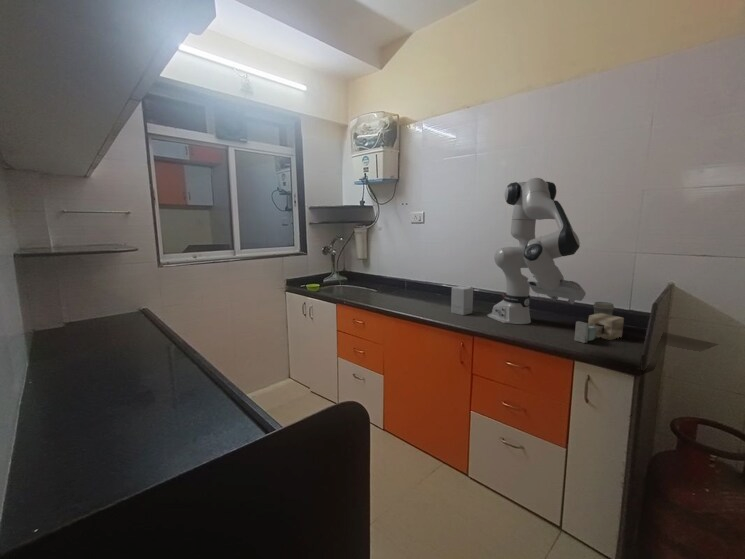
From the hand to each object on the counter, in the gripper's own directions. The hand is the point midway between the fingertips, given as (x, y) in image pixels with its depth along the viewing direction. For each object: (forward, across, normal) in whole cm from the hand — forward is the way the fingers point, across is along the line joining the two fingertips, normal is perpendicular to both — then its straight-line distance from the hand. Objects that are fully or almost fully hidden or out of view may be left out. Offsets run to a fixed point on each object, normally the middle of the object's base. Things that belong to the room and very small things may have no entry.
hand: (563, 301), depth 137 cm
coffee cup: (+45, +8, -18) cm, 49 cm away
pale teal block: (+25, 0, +1) cm, 25 cm away
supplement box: (+17, +63, +11) cm, 66 cm away
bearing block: (+36, 0, -9) cm, 37 cm away
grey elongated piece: (+29, 0, -2) cm, 29 cm away
